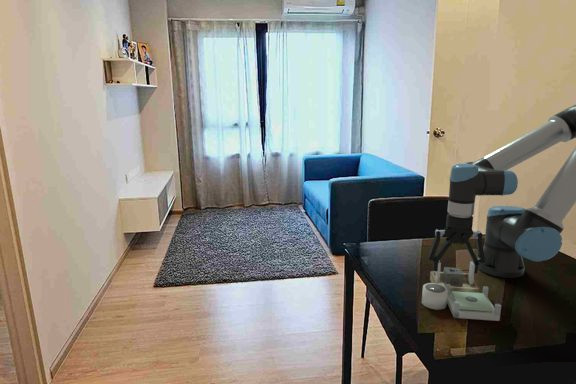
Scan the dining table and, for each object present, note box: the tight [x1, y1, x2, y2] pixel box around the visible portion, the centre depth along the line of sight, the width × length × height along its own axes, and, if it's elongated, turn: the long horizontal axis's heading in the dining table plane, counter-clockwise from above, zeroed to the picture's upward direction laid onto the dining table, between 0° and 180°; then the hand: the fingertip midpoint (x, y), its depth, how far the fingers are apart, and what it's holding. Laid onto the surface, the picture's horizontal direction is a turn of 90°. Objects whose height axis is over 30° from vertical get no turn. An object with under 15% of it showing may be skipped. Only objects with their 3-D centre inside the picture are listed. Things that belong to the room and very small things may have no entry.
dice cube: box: [442, 266, 464, 287], centre depth 133 cm, size 5×5×5 cm
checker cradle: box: [446, 284, 502, 322], centre depth 119 cm, size 12×12×4 cm
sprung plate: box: [451, 291, 493, 311], centre depth 119 cm, size 9×9×1 cm
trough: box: [429, 270, 481, 293], centre depth 132 cm, size 12×11×3 cm
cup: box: [421, 282, 448, 311], centre depth 122 cm, size 7×7×5 cm
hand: (453, 281), depth 131 cm, fingers open, 9 cm apart
